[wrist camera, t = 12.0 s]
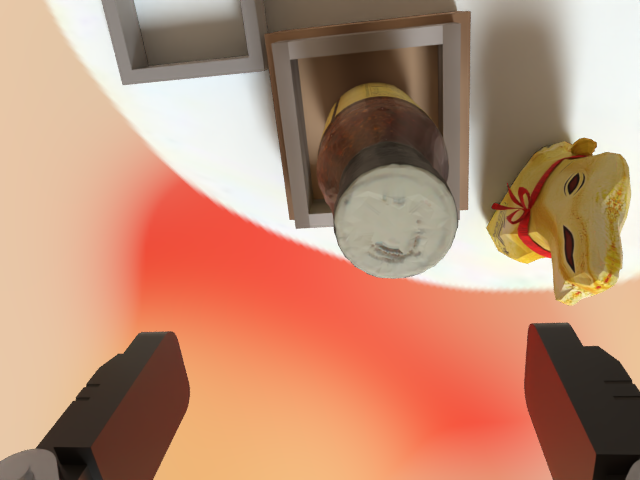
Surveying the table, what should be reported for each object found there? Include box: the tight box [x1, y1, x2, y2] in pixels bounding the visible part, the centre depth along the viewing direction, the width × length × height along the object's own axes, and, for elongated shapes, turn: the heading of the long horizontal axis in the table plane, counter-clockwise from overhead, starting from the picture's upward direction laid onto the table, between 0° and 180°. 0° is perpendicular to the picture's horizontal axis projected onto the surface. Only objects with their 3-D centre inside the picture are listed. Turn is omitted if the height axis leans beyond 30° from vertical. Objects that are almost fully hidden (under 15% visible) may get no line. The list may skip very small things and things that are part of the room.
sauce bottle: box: [317, 83, 458, 278], centre depth 26 cm, size 6×6×20 cm
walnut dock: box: [264, 11, 471, 229], centre depth 36 cm, size 13×13×9 cm
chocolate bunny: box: [487, 138, 631, 305], centre depth 35 cm, size 7×11×15 cm, turn 157°
